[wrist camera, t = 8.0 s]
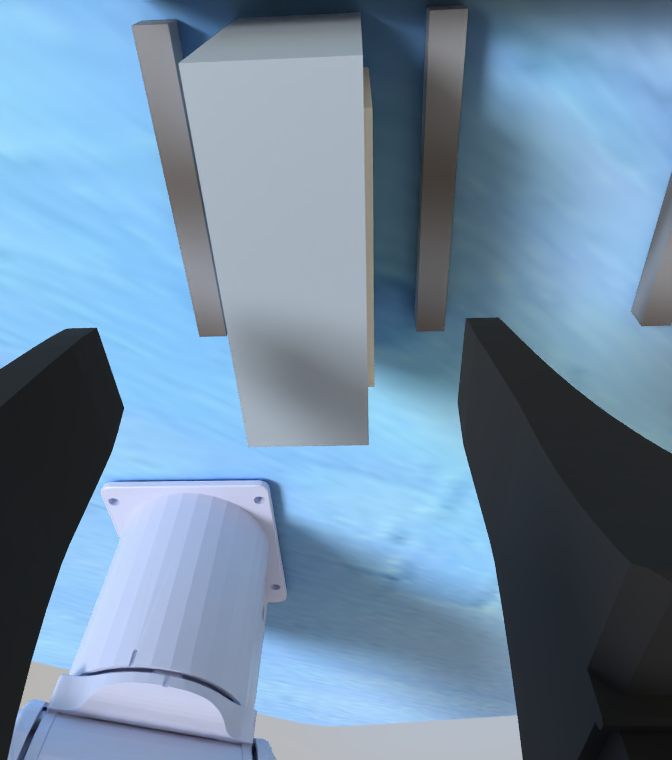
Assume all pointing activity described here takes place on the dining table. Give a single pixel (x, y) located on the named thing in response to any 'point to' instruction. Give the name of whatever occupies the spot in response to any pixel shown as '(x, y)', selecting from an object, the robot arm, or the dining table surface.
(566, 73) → the dining table surface
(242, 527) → the robot arm
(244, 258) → the grey rectangular block
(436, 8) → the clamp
